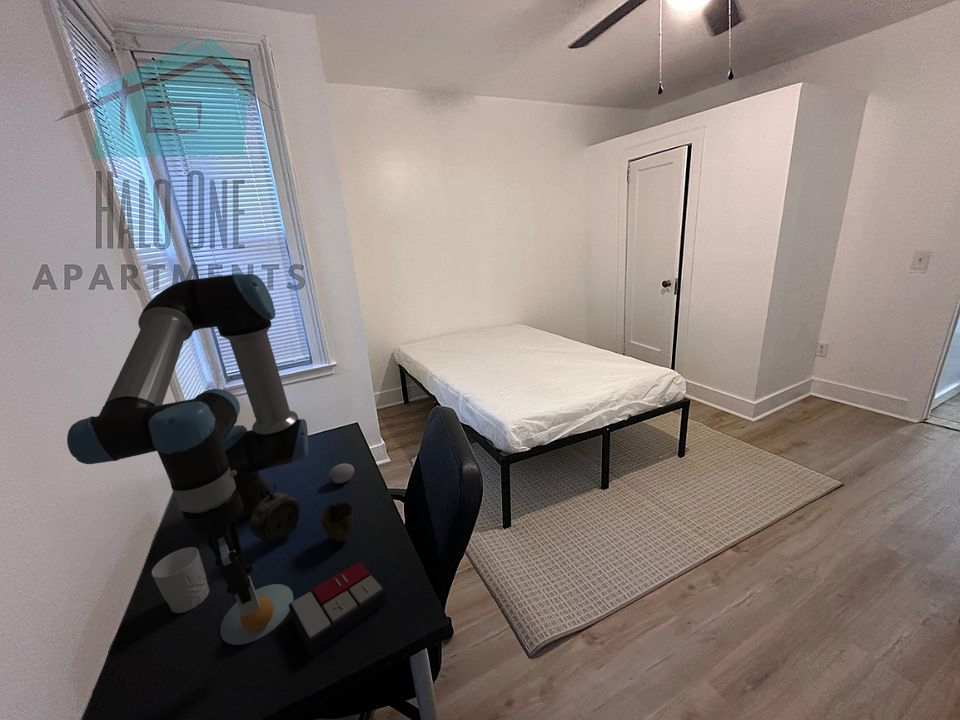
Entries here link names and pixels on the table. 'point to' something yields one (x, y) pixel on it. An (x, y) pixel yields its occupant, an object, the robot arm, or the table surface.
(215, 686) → the table surface
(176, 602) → the white cup
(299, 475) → the table surface
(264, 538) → the alarm clock
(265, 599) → the ball
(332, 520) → the dark brown rounded lump
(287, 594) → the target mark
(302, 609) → the calculator
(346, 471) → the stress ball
